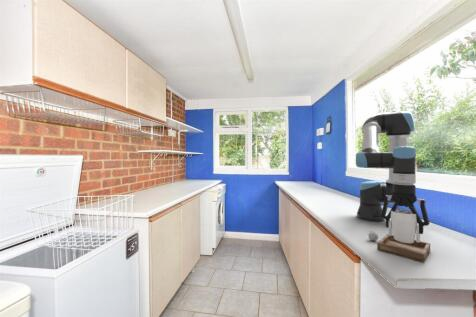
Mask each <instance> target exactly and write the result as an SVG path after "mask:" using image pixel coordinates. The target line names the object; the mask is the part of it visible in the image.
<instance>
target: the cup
mask: <svg viewBox="0 0 476 317" xmlns="http://www.w3.org/2000/svg"><path fill="white" fill-rule="evenodd" d="M390 220H391V223H392V235H393V236H394V239H395V240H397V241H399V242H403V243H413V242H414V240H416V225H417V224H418V223H417V219H416V214H412V212H411V210H410V209H402V208H397V209H396V210H395V212H393V211H391V218H390Z"/></svg>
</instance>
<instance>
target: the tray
mask: <svg viewBox="0 0 476 317" xmlns="http://www.w3.org/2000/svg"><path fill="white" fill-rule="evenodd" d="M376 247H377V249H376V250H377V251H381V252H384V253H388V254H390V255H395V256H398V257H402V258H405V259H410V260H413V261H417V262H420V263H425V262H426V260H427V258H428V256H429V254H430V252H431V243H429V242H425V241H421V240H420V241H419V243H418V242H416V239H414V242H413V243H403V242H399V241H397V240H395V239H394V236H393V234H392V236H389V233H387V234H386V235H385V236H384V237H382V238H381V239H380V240H379V241H378V242H377V246H376Z"/></svg>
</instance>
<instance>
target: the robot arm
mask: <svg viewBox="0 0 476 317" xmlns="http://www.w3.org/2000/svg"><path fill="white" fill-rule="evenodd" d="M414 131H415V121H414V116H413V114H412V112H411V111H409V110H408V111H402V110H401V111H395V112H392V111H391V112H385V113H384V112H383V113H382V112H381V113H376V114H374V115H372V116H370V117H368V118H367V119H366V120H365V121H364V123H363V124H362V126H361V133H362V144H361V150H360V151H361V152H360V151H359V152H357V153H356V154H355V166H356V167H357V168H364V169H388V178H387V179H386V180H385V183H383V182H382V181H381V180H368V181H362V182H361V183H360V184H359V207H358V209H357V212H356V217H357V218H358V219H361V220H365V221H370V222H384V221H385V227H386V228H388V234H389V236H392V235H393V229H392V223H391V211H393V212H395V210H396V209H398V207H405V208H408V210H410V211H411V212H412V214H416V219H417V225H416V234H415V240H416V242H418V243H419V241H421V235H423V234H424V227H425V226H429V225H430V219H429V214H428V210H427V208H426V207H427V206H426V202H427V200H426V199H424V198H422V199H421V198H418V197H417V196H416V194H417V193H416V187H417V186H416V185H415V184H416V174H417V173H416V160H417V159H416V157H417V154H416V148H415V147H414V146H408V138H409V137H410V136H411V135H412V132H414ZM380 134H385V136H386V137H387V138H388V151H379V150H380V149H379V148H380V147H379V143H380V140H379V139H380V138H379V137H380V136H379V135H380ZM416 202H417V203H418V205H419V206H420V212H421V215H422V217H421V216H420V215H419V212H418V211H417V209H416V207H415V203H416ZM382 203H383V205H382ZM389 204H393V205H392V207H391V209H390V210H389V212H388V208H389ZM382 206H383V207H382ZM387 212H388V213H387ZM422 219H423V220H422Z"/></svg>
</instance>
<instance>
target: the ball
mask: <svg viewBox="0 0 476 317" xmlns="http://www.w3.org/2000/svg"><path fill="white" fill-rule="evenodd" d="M367 236H368V239H369V240H370V241H372V242H375V241H377V240H378V239H379V235H378V233H377V232H375V231H370V232H368V234H367Z"/></svg>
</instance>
